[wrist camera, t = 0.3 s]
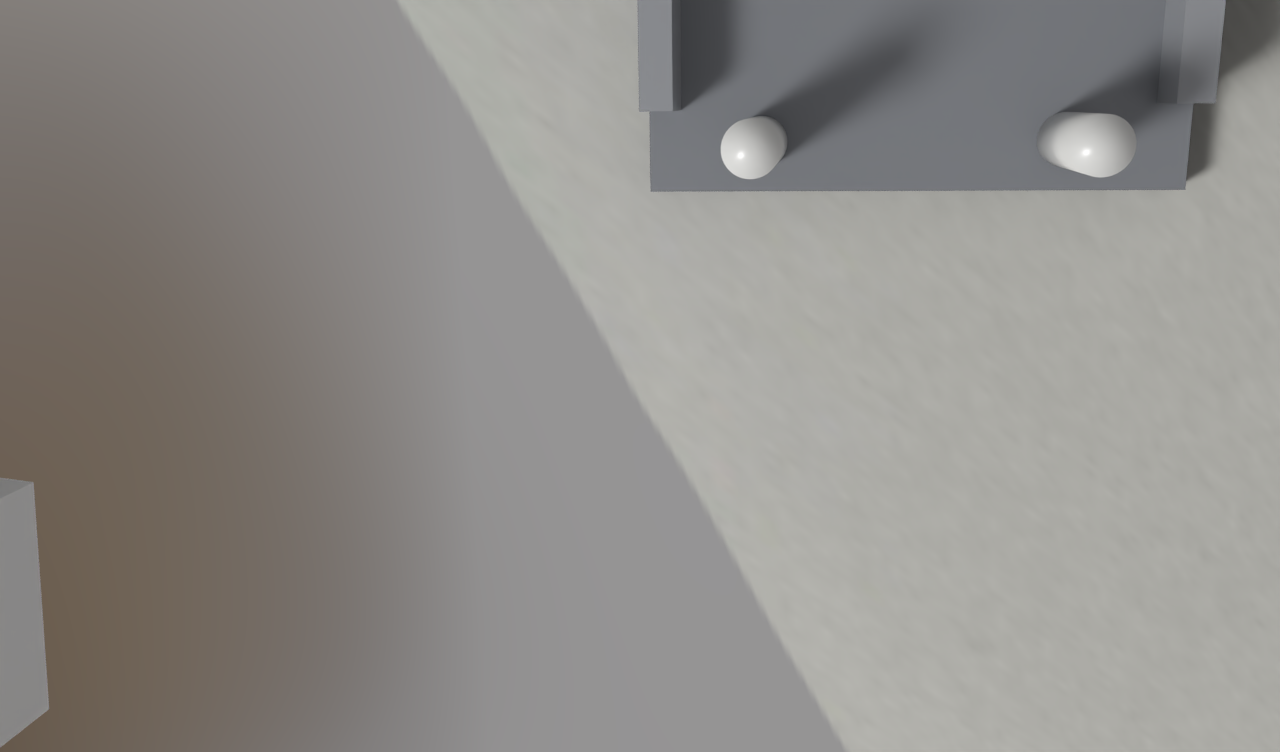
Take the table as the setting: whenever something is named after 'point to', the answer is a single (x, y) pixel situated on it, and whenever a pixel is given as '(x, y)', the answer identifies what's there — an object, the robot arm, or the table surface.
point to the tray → (924, 93)
